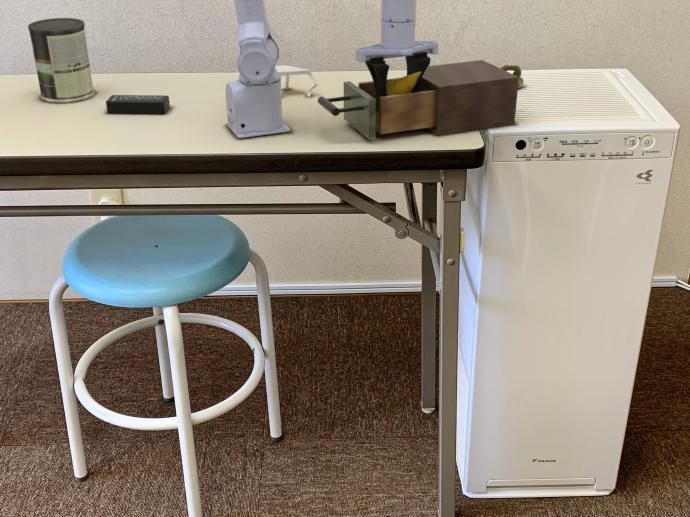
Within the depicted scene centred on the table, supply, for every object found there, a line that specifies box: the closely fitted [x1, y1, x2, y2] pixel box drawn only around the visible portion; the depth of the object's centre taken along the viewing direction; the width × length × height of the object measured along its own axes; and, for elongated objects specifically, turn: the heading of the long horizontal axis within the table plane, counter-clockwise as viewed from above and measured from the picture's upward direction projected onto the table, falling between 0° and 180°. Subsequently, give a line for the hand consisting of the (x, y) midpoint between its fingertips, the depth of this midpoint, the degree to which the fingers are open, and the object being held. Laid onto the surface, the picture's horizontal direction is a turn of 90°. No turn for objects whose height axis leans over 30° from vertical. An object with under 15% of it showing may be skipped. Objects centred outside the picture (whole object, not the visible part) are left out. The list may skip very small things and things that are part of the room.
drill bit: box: [386, 72, 421, 96], centre depth 144 cm, size 5×5×10 cm
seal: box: [500, 64, 524, 89], centre depth 170 cm, size 9×5×15 cm
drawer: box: [317, 77, 437, 140], centre depth 144 cm, size 20×11×7 cm, turn 112°
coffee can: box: [27, 17, 95, 104], centre depth 163 cm, size 10×10×14 cm
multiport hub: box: [105, 94, 171, 115], centre depth 157 cm, size 4×11×2 cm, turn 87°
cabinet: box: [421, 59, 519, 137], centre depth 150 cm, size 16×13×9 cm
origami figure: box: [275, 65, 319, 98], centre depth 165 cm, size 12×8×5 cm
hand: (396, 98), depth 145 cm, fingers closed on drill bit, 5 cm apart
